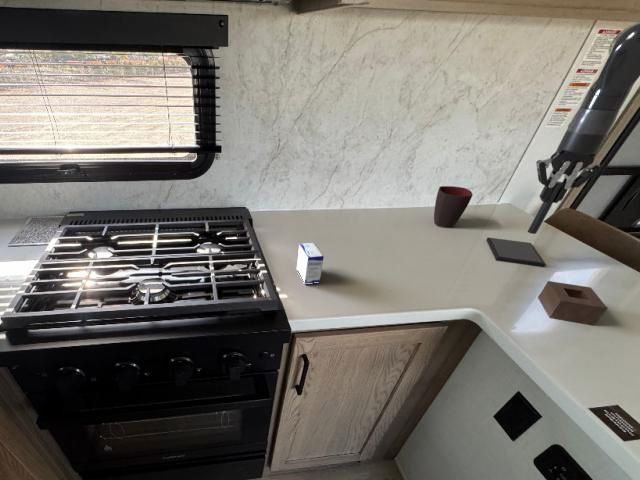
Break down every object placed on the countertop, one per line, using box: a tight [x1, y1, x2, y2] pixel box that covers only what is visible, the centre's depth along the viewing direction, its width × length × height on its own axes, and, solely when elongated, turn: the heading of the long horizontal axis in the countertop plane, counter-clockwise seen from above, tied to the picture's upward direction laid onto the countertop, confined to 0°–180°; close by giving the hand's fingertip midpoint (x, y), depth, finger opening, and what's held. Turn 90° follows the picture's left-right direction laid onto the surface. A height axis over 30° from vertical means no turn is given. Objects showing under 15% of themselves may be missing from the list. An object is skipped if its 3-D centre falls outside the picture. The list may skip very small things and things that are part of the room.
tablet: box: [486, 237, 546, 268], centre depth 105 cm, size 12×14×1 cm
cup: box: [433, 185, 474, 229], centre depth 121 cm, size 10×14×12 cm
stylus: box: [527, 180, 564, 235], centre depth 93 cm, size 2×2×14 cm
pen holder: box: [537, 280, 608, 326], centre depth 81 cm, size 9×9×5 cm
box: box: [296, 242, 325, 286], centre depth 93 cm, size 8×4×9 cm, turn 9°
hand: (548, 201), depth 91 cm, fingers closed on stylus, 2 cm apart
